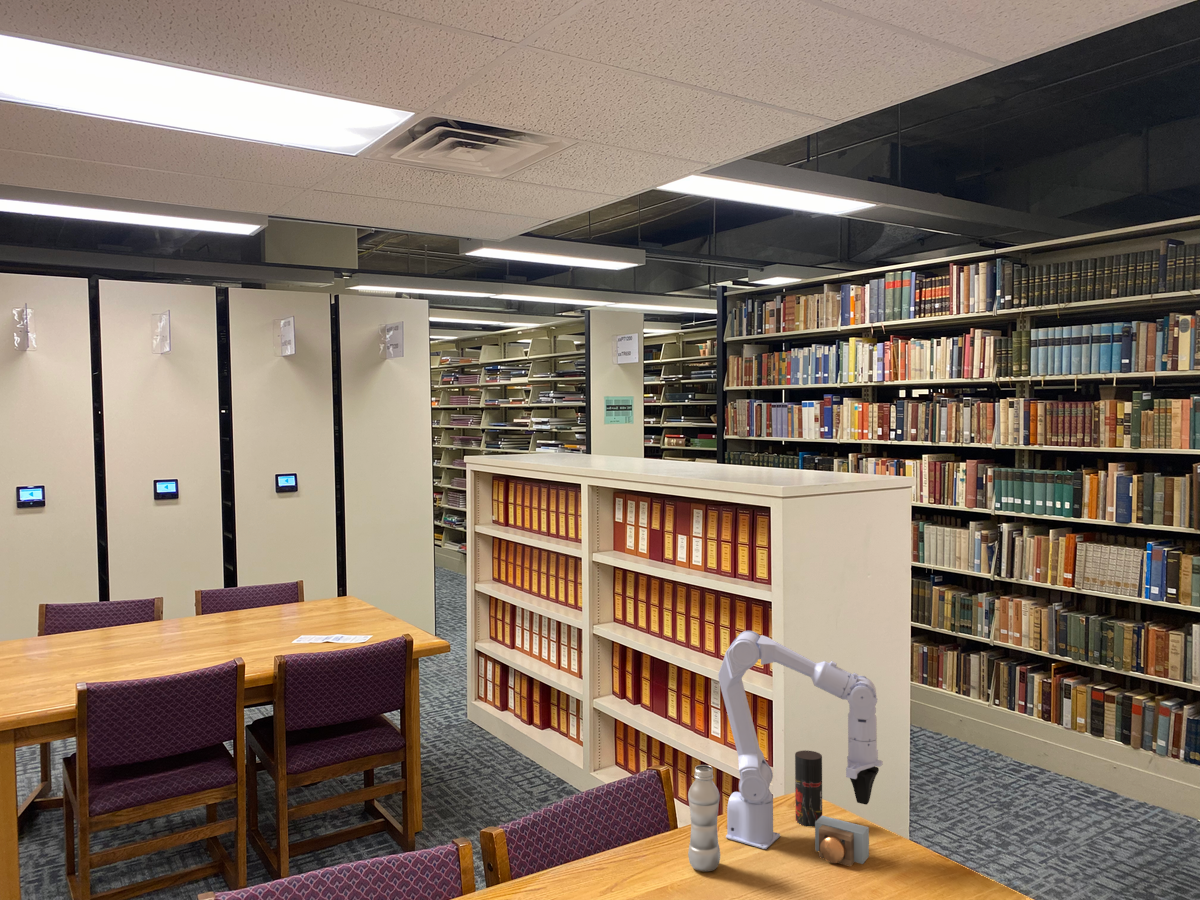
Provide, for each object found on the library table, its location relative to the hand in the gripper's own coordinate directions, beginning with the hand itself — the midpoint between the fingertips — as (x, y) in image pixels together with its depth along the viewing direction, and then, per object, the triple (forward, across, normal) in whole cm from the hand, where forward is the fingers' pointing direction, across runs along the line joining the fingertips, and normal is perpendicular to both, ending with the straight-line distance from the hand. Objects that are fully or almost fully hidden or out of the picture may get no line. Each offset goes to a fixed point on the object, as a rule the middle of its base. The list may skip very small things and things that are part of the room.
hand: (862, 802), depth 173 cm
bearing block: (+10, -3, +4) cm, 11 cm away
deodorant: (+11, +8, +15) cm, 20 cm away
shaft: (+10, -4, +4) cm, 11 cm away
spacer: (+10, -6, +4) cm, 13 cm away
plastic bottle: (+11, -25, +24) cm, 36 cm away
